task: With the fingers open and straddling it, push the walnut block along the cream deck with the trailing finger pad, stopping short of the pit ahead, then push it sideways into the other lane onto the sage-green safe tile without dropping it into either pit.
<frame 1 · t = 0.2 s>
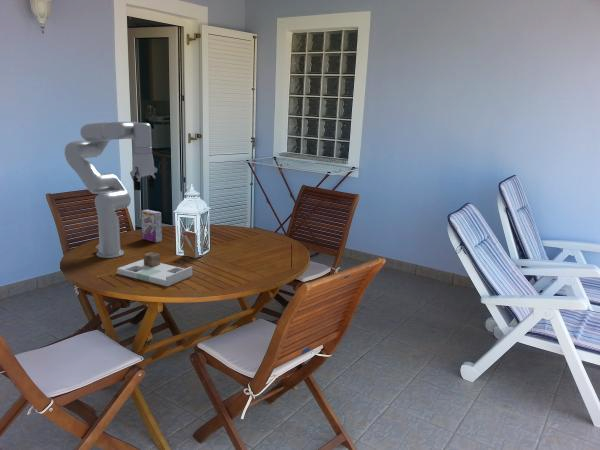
hand: (144, 188, 223), 36 cm above the table, tool pointing down, fingers open, 9 cm apart
candy bar box: (152, 240, 270), on the table
walnut block: (152, 264, 222), point 2 cm above the table, touching deck
deck: (154, 274, 217), on the table
small box: (193, 255, 247), on the table
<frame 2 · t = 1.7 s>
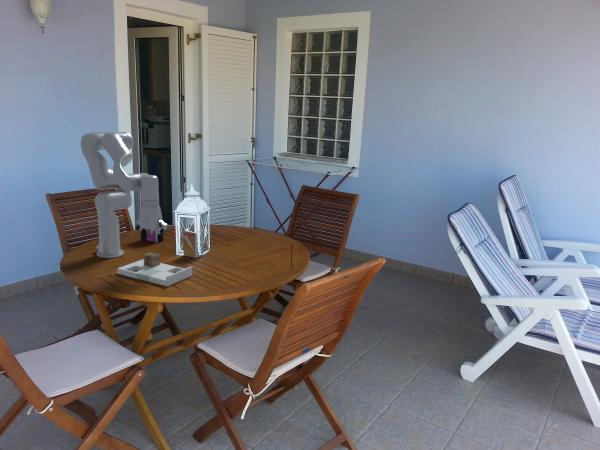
hand: (152, 240, 219), 14 cm above the table, tool pointing down, fingers open, 9 cm apart
nothing on the table moved.
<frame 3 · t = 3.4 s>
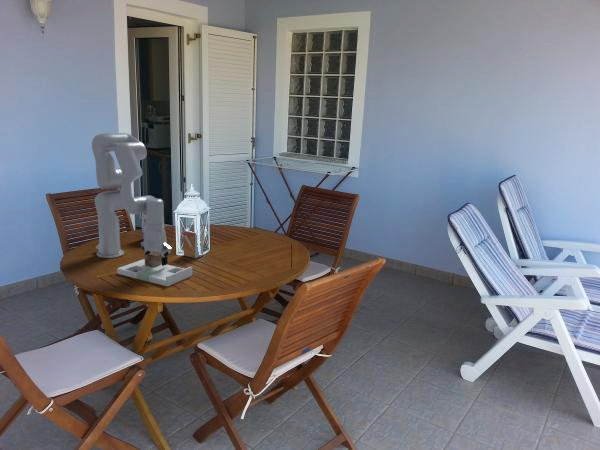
hand: (156, 263, 221), 4 cm above the table, tool pointing down, fingers open, 9 cm apart
walnut block: (153, 265, 222), point 3 cm above the table, touching gripper
everything else where it was.
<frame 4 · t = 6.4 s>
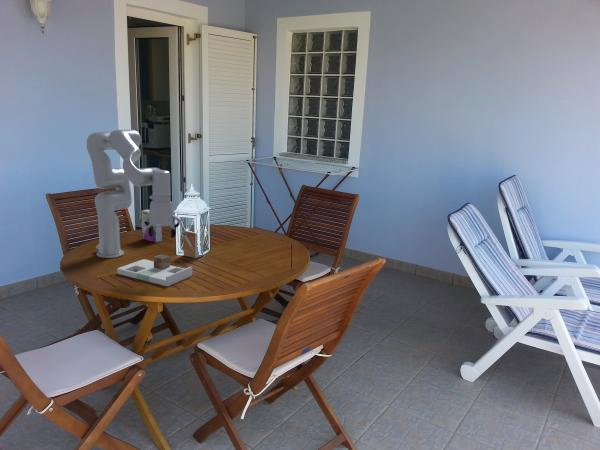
hand: (162, 236, 216), 17 cm above the table, tool pointing down, fingers open, 9 cm apart
walnut block: (161, 267, 220), point 2 cm above the table, touching deck
everything else where it was.
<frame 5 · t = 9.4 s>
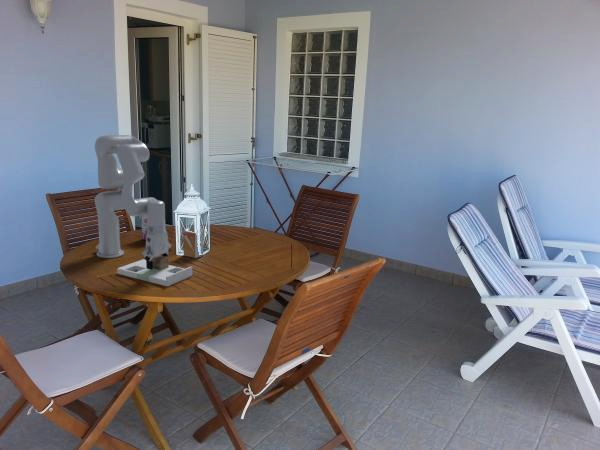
hand: (157, 266, 217), 4 cm above the table, tool pointing down, fingers open, 9 cm apart
walnut block: (160, 267, 219), point 3 cm above the table, touching gripper
everything else where it was.
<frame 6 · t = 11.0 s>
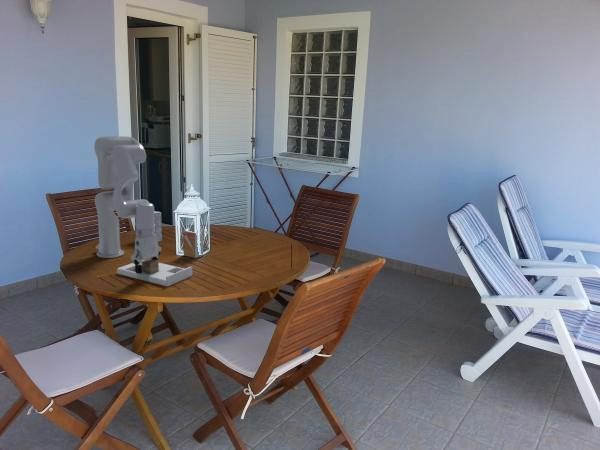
hand: (147, 270, 211), 4 cm above the table, tool pointing down, fingers open, 9 cm apart
walnut block: (150, 271, 213), point 2 cm above the table, touching deck, gripper
everything else where it was.
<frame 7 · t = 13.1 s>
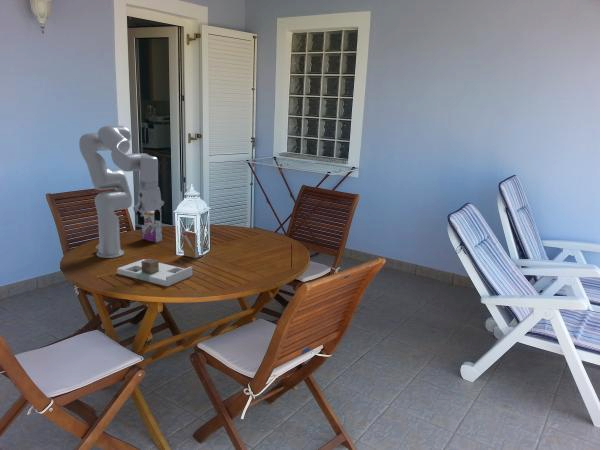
hand: (149, 222, 217), 23 cm above the table, tool pointing down, fingers open, 9 cm apart
walnut block: (150, 271, 213), point 2 cm above the table, touching deck
everything else where it was.
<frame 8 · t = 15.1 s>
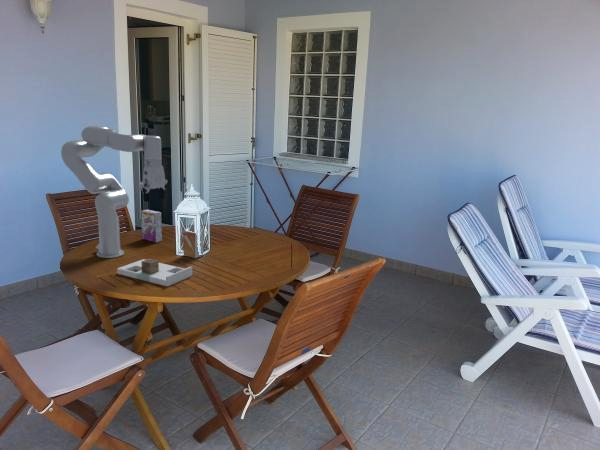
hand: (154, 199, 227), 30 cm above the table, tool pointing down, fingers open, 9 cm apart
nothing on the table moved.
at the end: walnut block inside the target area (0.6 cm from its centre), point 2.5 cm above the table; walnut block tilted 0°; walnut block touching deck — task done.
